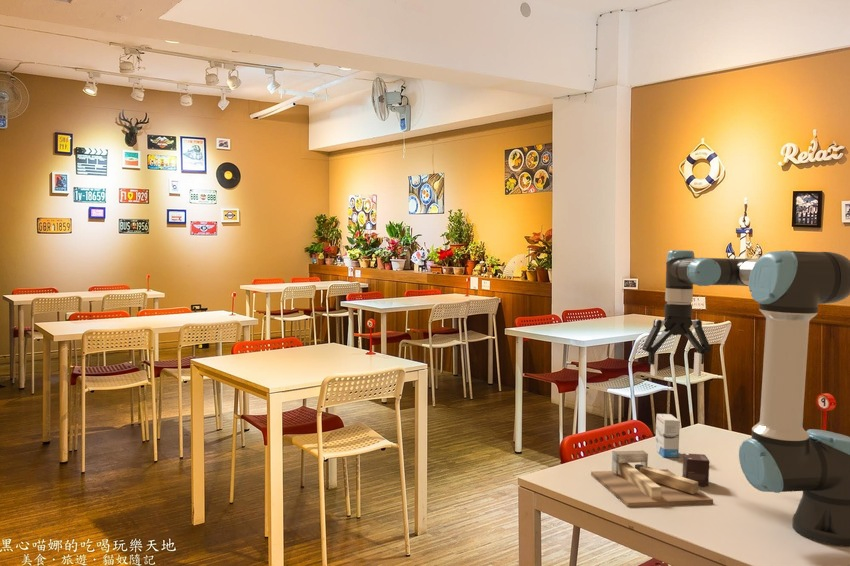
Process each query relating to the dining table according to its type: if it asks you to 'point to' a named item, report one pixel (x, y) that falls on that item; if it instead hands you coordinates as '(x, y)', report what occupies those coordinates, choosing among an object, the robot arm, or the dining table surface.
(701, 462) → the box
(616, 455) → the lock collar
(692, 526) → the dining table surface
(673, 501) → the walnut board
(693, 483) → the bar
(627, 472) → the fixed tong arm
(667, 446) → the ink box
